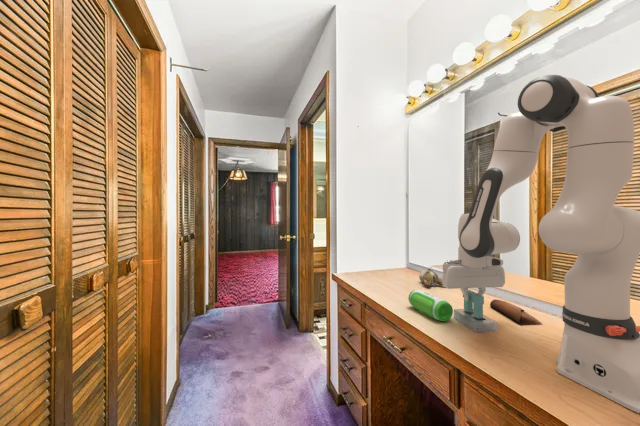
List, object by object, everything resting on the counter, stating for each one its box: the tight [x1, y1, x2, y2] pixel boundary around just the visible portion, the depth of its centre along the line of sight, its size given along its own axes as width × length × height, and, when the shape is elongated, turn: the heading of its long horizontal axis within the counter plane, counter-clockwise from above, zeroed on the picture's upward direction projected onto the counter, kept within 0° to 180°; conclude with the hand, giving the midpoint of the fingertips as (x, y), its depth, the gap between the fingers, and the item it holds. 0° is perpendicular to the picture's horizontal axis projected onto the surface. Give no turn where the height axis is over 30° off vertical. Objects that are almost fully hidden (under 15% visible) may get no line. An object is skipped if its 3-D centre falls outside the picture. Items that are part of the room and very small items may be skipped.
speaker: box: [407, 289, 454, 322], centre depth 106 cm, size 18×7×8 cm, turn 16°
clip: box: [462, 289, 485, 318], centre depth 96 cm, size 8×2×7 cm, turn 3°
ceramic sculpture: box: [418, 268, 444, 288], centre depth 147 cm, size 11×9×15 cm
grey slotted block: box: [453, 308, 498, 334], centre depth 96 cm, size 13×7×3 cm, turn 3°
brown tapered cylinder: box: [489, 299, 543, 326], centre depth 103 cm, size 18×7×7 cm
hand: (473, 300), depth 96 cm, fingers closed on clip, 2 cm apart
